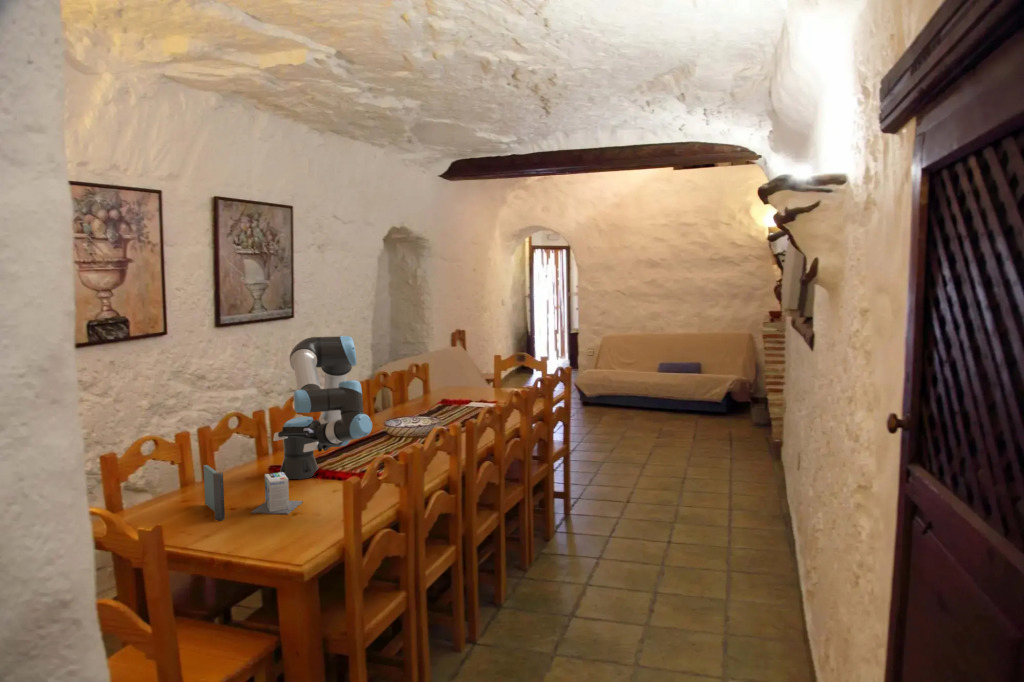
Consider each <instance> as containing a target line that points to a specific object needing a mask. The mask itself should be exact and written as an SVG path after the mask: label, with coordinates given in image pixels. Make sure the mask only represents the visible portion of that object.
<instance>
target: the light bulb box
mask: <svg viewBox="0 0 1024 682" xmlns="http://www.w3.org/2000/svg"><path fill="white" fill-rule="evenodd" d="M289 489H290V488H289V479H288V478H287V477H286V475H285V474H284V473H283V472H280V471H279V472H272V473H265V474H264V491H265V492H264V493H265V495H264V496H265V497H264V498H265V499H264V500H265V501H264V502H265V503H266V505H267V507H268V509H269V511H270V512H272V511H279V510H286V509H289V501H290V499H289V498H290V497H289V496H290V495H289V494H290V493H289V492H290V491H289Z"/></svg>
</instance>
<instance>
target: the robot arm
mask: <svg viewBox="0 0 1024 682" xmlns="http://www.w3.org/2000/svg"><path fill="white" fill-rule="evenodd" d="M357 361H358V360H357V353H356V346H355V343H354V339H353V337H351V336H349V335H340V336H311V337H307V338H305V339H302V340H301V341H299V342H298V343H297V344H296V345H295V346H294V347H293V348H292V351H291V352H290V355H289V364H290V367H291V369H292V370H293V371H294V375H295V380H296V385H297V390H295V391H294V392H293V406H294V407H293V408H294V411H295V412H296V413H297V414H302V413H304V414H308V413H319V412H321V413H320V416H319V418H318V419H314V418H313V416H300V417H296V418H291V419H289V420H287V421H286V422H284V424H283V426H282V428H281V429H282V430H281V431H277V432H274V434H273V441H274V442H277V441H281V440H283V456H284V457H283V460H282V463H281V467H280V471H279V472H283V473H284V474H285V475H286V477H287V478H288V480H290V479H298V480H305V479H310V477H311V478H313V477H312V476H313V475H314V473H315V472H316V471H317V470H318V469H319V466H318V463H317V461H316V458H315V454H314V453H315V452H314V451H316V450H317V451H318V452H320V453H321V452H322V450H323V452H327V451H328V450H329V449H330V448H340V447H345V446H347V445H349V443H350V442H351V441H353V440H358V439H362V438H365V437H367V436H369V435H370V433H372V430H373V421H372V420H371V417H369V415H368V414H366V413H365V412H364V403H363V399H364V398H363V390H362V384H361V382H360V381H358V380H355V379H353V380H352V379H351V380H348V374H349V373H351V371H352V368H353V367H355V366H357ZM317 368H321V371H322V372H323V373H324V388H322V387H321V386H322V385H321V382H320V378H319V373H318V370H317Z"/></svg>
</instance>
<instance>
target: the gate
mask: <svg viewBox="0 0 1024 682" xmlns="http://www.w3.org/2000/svg"><path fill="white" fill-rule="evenodd" d="M216 472H218V471H217V470H215V469H214V468H213V467H212V466H209V465H208V464H205V465H203V482H204V483H203V485H204V488H203V489H204V504H205V505H206V506H208V508H210V509H211V510H212V511H213V512H214V513H215V507H214V483H213V474H214V473H216Z"/></svg>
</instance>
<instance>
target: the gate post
mask: <svg viewBox="0 0 1024 682" xmlns="http://www.w3.org/2000/svg"><path fill="white" fill-rule="evenodd" d="M213 483H214V507H215V512H214V521H215V520H218V521H217V522H223V521H224V520H225V519H226V513H225V512H226V511H225V489H224V487H225V486H224V473H223V472H219V471H217V472H216V473H214V474H213ZM222 520H223V521H222Z"/></svg>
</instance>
